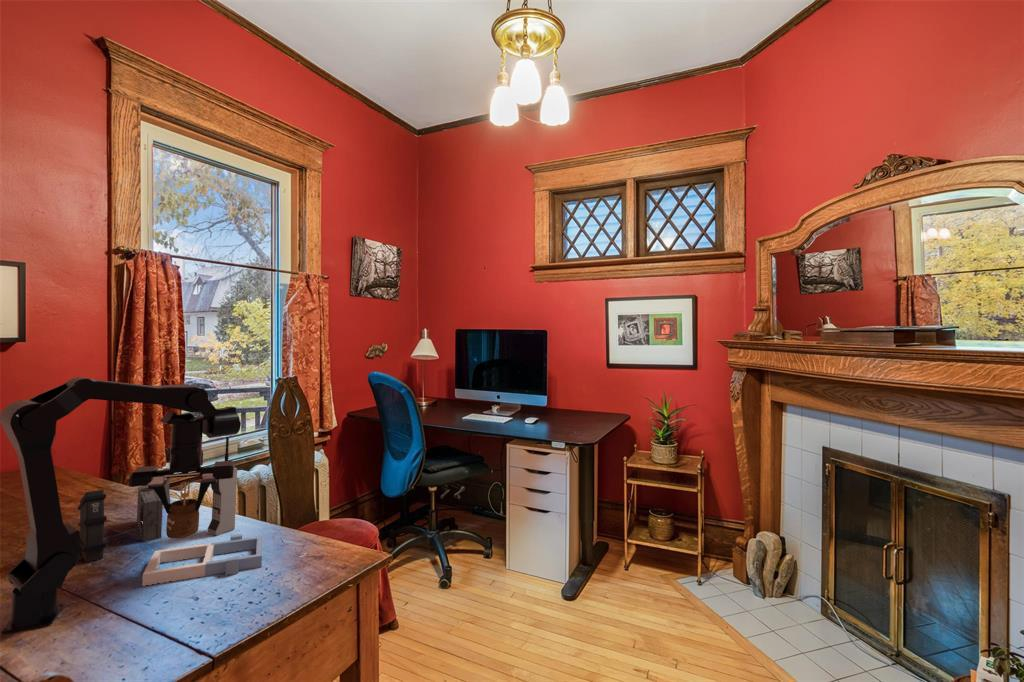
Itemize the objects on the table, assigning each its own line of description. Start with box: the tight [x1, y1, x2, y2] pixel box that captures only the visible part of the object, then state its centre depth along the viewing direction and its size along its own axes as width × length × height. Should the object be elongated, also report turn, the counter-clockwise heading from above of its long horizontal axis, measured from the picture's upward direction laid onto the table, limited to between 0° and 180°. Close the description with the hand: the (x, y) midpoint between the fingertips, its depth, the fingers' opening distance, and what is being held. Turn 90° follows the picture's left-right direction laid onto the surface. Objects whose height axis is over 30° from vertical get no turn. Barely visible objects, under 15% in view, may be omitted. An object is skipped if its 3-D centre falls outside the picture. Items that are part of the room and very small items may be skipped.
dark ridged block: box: [77, 489, 107, 563], centre depth 108 cm, size 4×13×15 cm, turn 49°
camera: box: [136, 485, 164, 542], centre depth 121 cm, size 16×4×10 cm, turn 44°
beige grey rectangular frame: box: [142, 533, 264, 587], centre depth 105 cm, size 14×22×3 cm, turn 118°
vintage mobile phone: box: [207, 436, 238, 536], centre depth 122 cm, size 4×5×25 cm
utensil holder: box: [165, 481, 200, 540], centre depth 103 cm, size 6×6×12 cm
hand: (183, 511), depth 103 cm, fingers closed on utensil holder, 5 cm apart
